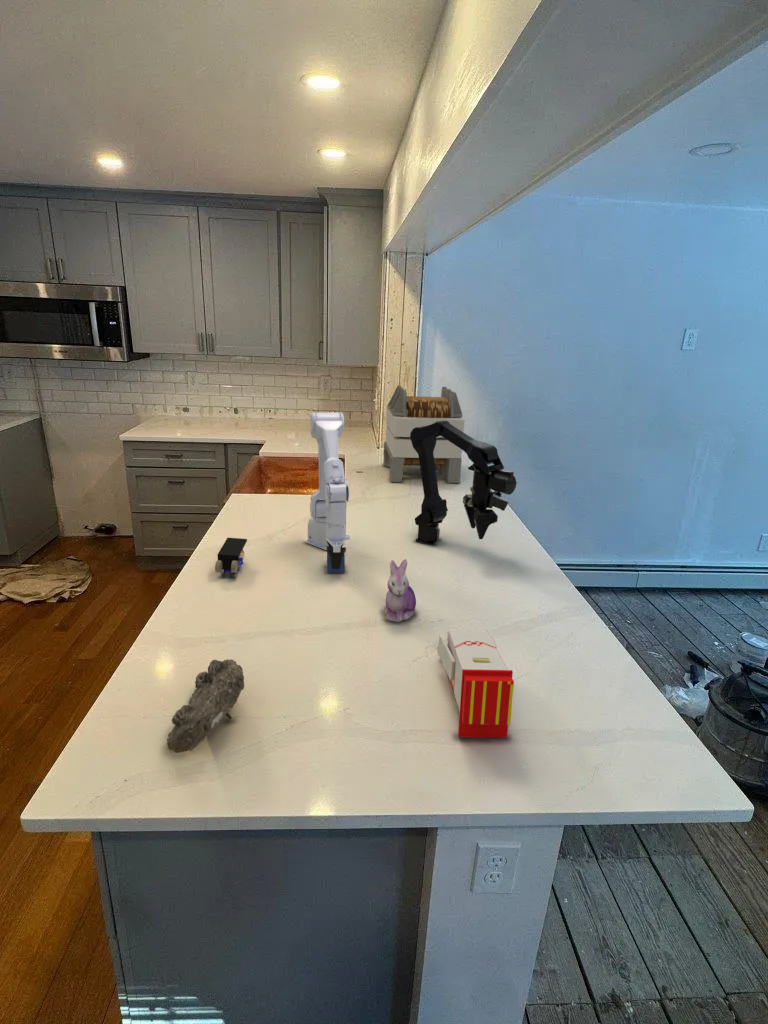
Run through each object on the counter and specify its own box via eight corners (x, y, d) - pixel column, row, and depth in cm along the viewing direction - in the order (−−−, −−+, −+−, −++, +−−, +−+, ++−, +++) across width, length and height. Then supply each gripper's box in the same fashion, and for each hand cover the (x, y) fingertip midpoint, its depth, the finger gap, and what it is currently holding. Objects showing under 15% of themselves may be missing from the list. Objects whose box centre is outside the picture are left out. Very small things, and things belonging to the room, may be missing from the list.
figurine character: (238, 584, 162) (249, 557, 175) (236, 562, 158) (247, 536, 172) (215, 584, 161) (227, 556, 175) (212, 561, 158) (225, 535, 171)
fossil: (192, 660, 117) (244, 628, 112) (224, 691, 120) (276, 661, 115) (142, 746, 98) (202, 712, 93) (182, 779, 101) (242, 748, 96)
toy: (488, 613, 130) (523, 677, 101) (484, 667, 133) (517, 744, 104) (435, 612, 130) (455, 676, 101) (432, 666, 133) (451, 743, 103)
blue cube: (344, 572, 169) (344, 557, 167) (327, 573, 168) (327, 557, 167) (343, 566, 173) (344, 551, 171) (326, 566, 173) (326, 551, 171)
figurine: (392, 627, 141) (395, 572, 136) (374, 608, 149) (376, 556, 144) (425, 619, 145) (429, 566, 140) (405, 601, 154) (408, 550, 149)
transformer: (382, 463, 289) (386, 382, 275) (445, 464, 293) (451, 384, 279) (390, 482, 257) (394, 392, 243) (460, 483, 261) (468, 394, 247)
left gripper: (351, 531, 159) (350, 575, 164) (348, 513, 173) (347, 554, 177) (326, 531, 158) (325, 575, 163) (325, 513, 172) (324, 554, 176)
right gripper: (517, 496, 166) (510, 545, 171) (498, 477, 183) (492, 522, 189) (480, 495, 165) (475, 545, 170) (464, 477, 182) (460, 522, 187)
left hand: (335, 564), depth 170 cm, fingers closed on blue cube, 4 cm apart
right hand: (476, 533), depth 179 cm, fingers open, 9 cm apart
